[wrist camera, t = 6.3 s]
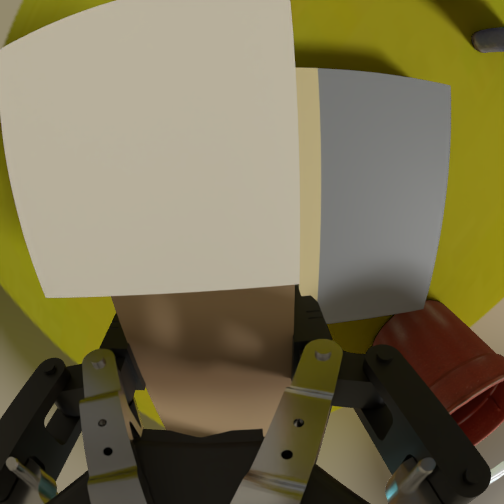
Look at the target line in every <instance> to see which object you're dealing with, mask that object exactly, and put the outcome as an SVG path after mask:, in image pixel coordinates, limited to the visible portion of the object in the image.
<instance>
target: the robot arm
mask: <svg viewBox="0 0 504 504" xmlns="http://www.w3.org/2000/svg"><path fill="white" fill-rule="evenodd" d="M291 381H292V383H291V385H290V387H286V389H285V391H284V393H283V395H282V398H281V400H280V403H279V405H278V407H277V410H276V412H275V415H274V417H273V419H272V422H271V424H270V426H269V429H268V431H267V433H266V436H265V437H264V436H263V428H262V429H248V430H231V431H227V432H223V433H219V434H215V435H210V436H206V437H195V436H191V435H186V434H182V433H178V432H174V431H171V430H152V429H144V427H143V424H142V421H141V418H140V414H139V410H138V407H137V403H136V400H135V398H134V393H135V390H145V386H146V383H145V381H144V379H143V377H142V374H141V372H140V369H139V367H138V365H137V362H136V360H135V357H134V355H133V352H132V350H131V347H130V344H129V343H127V340H126V337H125V335H124V332H123V329H122V327H121V324H120V321H119V318H118V315H117V313H116V314H115V316H114V318H113V320H112V323H111V324H110V327H109V329H108V331H107V333H106V335H105V337H104V339H103V342H102V344H101V346H100V348H99V349H96V350H94V351H92V352H90V353H89V354H87V355H86V356H85V358H84V359H83V362H82V364H78V365H74V366H68V367H66V366H65V364H64V362H63V361H62V360H61V359H59V358H50V359H47V360H45V361H44V362H42V363H41V364H40V365H39V366H38V368H37V369H36V370H35V372H34V373H33V374H32V376H31V377H30V378H29V380H28V381H27V382H26V384H25V385H24V386H23V388H22V389H21V390H20V392H19V393H18V395H17V396H16V397H15V399H14V400H13V402H12V403H11V405H10V406H9V407H8V409H7V410H6V412H5V413H4V415H3V416H2V418H1V419H0V504H370V503H369V502H367V501H366V500H364V499H363V498H361V497H360V496H358V495H357V494H355V493H354V492H352V491H351V490H350V489H348V488H347V487H346V486H344V485H343V484H341V483H340V482H339V481H337V480H336V479H335V478H333V477H332V476H331V475H329V474H328V473H327V472H326V471H324V470H323V469H322V468H320V467H319V466H318V465H316V461H317V459H318V455H319V452H320V448H321V445H322V441H323V438H324V434H325V430H326V426H327V423H328V419H329V415H330V412H331V408H332V406H340V407H350V408H354V410H355V412H356V413H357V415H358V417H359V418H360V420H361V422H362V424H363V425H364V427H365V429H366V430H367V432H368V434H369V436H370V437H371V439H372V441H373V443H374V444H375V446H376V448H377V450H378V451H379V453H380V455H381V456H382V458H383V460H384V462H385V463H386V465H387V467H388V469H389V470H390V472H391V474H392V476H391V478H390V479H389V480H388V482H387V484H386V488H385V492H386V496H387V499H388V504H468V503H469V502H471V501H472V500H473V499H475V498H476V497H477V496H479V495H480V494H481V493H483V492H484V491H485V490H486V488H487V487H488V485H489V483H490V480H491V472H490V468H489V466H488V465H487V463H486V461H485V460H484V459H483V457H482V456H481V455H480V453H479V452H478V451H477V449H476V448H475V446H474V445H473V444H472V442H471V441H470V440H469V438H468V437H467V436H466V434H465V433H464V432H463V430H462V429H461V428H460V427H459V425H458V424H457V423H456V421H455V420H454V419H453V417H452V416H451V415H450V414H449V412H448V411H447V410H446V408H445V407H444V406H443V405H442V403H441V402H440V401H439V400H438V398H437V397H436V396H435V394H434V393H433V392H432V391H431V389H430V388H429V387H428V386H427V384H426V383H425V382H424V381H423V380H422V378H421V377H420V376H419V375H418V373H417V372H416V371H415V370H414V369H413V367H412V366H411V365H410V364H409V362H408V361H407V360H406V359H405V358H404V356H403V355H402V354H401V353H400V352H399V351H398V350H397V349H396V348H394V347H392V346H390V345H385V344H379V345H375V346H372V347H370V348H369V349H368V350H367V352H366V354H356V353H349V352H346V351H343V350H342V348H341V347H340V345H339V344H337V343H336V342H334V341H333V340H332V337H331V335H330V332H329V329H328V327H327V324H326V321H325V319H324V317H323V314H322V311H321V308H320V306H319V303H318V301H316V300H315V299H314V298H313V297H312V296H311V295H309V296H301V294H300V291H299V288H298V285H295V302H294V335H293V341H292V368H291ZM54 403H55V404H56V406H57V407H58V408H57V410H56V411H55V413H54V415H53V416H52V418H51V419H50V421H49V423H48V424H47V426H46V428H45V426H44V419H45V417H46V415H47V414H48V412H49V410H50V409H51V407H52V406H53V404H54ZM81 431H82V435H83V442H84V449H85V455H86V461H87V466H88V471H86V472H85V473H84V474H83V475H82V476H80V477H79V478H78V479H76V480H75V481H74V482H73V483H71V484H70V485H69V486H68V487H66V488H65V489H64V490H63V491H61V492H60V493H59V494H58V493H57V486H56V480H57V478H58V476H59V474H60V472H61V470H62V468H63V466H64V464H65V462H66V460H67V458H68V456H69V454H70V452H71V450H72V448H73V447H74V445H75V443H76V441H77V439H78V437H79V435H80V433H81Z"/></svg>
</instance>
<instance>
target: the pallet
mask: <svg viewBox="0 0 504 504" xmlns="http://www.w3.org/2000/svg"><path fill="white" fill-rule="evenodd" d="M111 298H112V301H113V304H114V307H115V310H116V312H117V315H118V318H119V321H120V324H121V327H122V329H123V332H124V335H125V337H126V340H127V343H129V344H130V347H131V350H132V352H133V355H134V357H135V360H136V362H137V365H138V367H139V369H140V372H141V374H142V377H143V379H144V381H145V383H146V388H147V391H148V393H149V395H150V397H151V399H152V402H153V404H154V406H155V408H156V410H157V412H158V414H159V416H160V418H161V420H162V422H163V424H164V426H165V428H166V430H171V431H174V432H178V433H182V434H186V435H191V436H195V437H206V436H210V435H215V434H219V433H223V432H227V431H231V430H248V429H262V428H263V436H264V437H265V436H266V433H267V431H268V429H269V426H270V424H271V422H272V419H273V417H274V415H275V412H276V410H277V407H278V405H279V403H280V400H281V398H282V395H283V393H284V391H285V389H286V387H290V385H291V383H292V381H291V368H292V341H293V335H294V302H295V285H283V286H271V287H259V288H246V289H232V290H218V291H203V292H186V293H168V294H149V295H126V296H111Z"/></svg>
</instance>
